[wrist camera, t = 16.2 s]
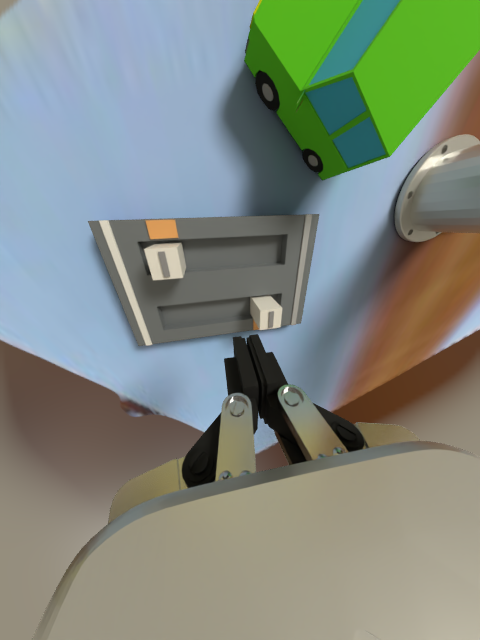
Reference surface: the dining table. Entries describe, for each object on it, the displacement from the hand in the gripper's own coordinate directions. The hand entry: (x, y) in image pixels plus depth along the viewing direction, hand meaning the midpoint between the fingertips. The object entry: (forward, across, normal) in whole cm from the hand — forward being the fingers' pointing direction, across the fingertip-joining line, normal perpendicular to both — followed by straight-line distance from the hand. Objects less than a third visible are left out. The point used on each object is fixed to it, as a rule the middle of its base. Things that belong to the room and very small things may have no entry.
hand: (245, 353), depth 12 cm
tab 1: (+15, +7, -4) cm, 17 cm away
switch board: (+16, +1, 0) cm, 17 cm away
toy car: (+18, -10, -19) cm, 28 cm away
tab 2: (+15, -5, +4) cm, 17 cm away
